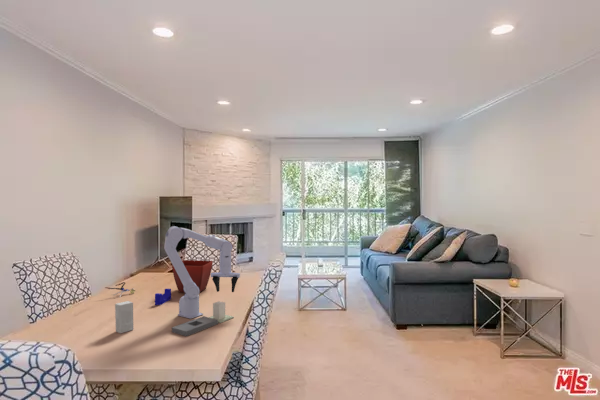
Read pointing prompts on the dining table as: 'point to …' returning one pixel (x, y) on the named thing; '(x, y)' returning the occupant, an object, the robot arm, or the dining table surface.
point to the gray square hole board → (190, 326)
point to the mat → (223, 318)
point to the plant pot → (195, 273)
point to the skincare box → (124, 316)
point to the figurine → (122, 289)
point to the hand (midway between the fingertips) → (225, 291)
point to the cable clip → (162, 297)
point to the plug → (219, 310)
